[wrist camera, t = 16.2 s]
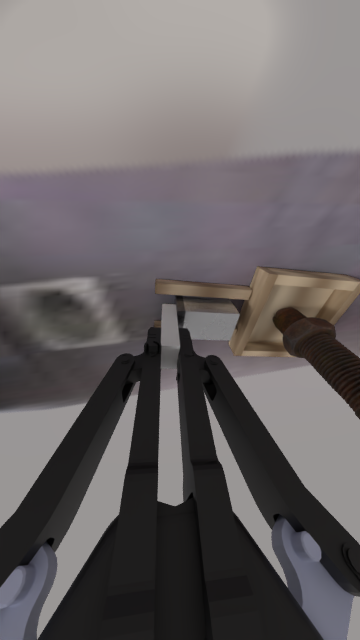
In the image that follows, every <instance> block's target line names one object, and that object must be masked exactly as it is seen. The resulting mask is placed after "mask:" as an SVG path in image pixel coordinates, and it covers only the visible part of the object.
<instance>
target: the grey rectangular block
mask: <svg viewBox="0 0 360 640" xmlns="http://www.w3.org/2000/svg"><path fill="white" fill-rule="evenodd" d="M174 304H176V311H177V320H178V328H187V329H188V330H189V331H190V336H191V339H196V340H227V341H230V340H231V337H232V334H233V332H234V329H235V326H236V324H237V321H238V318H239V316H240V314H239V312H238V311H237V309H236V308H235V306H234V305H233V304H232V302H231V301H230V299H228V298H213V297H198V296H183V295H175V303H174Z"/></svg>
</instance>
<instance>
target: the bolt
mask: <svg viewBox="0 0 360 640" xmlns="http://www.w3.org/2000/svg"><path fill="white" fill-rule="evenodd" d="M275 316H276V317H273V319H272V320H273V323H274V325H275V327H276V328H277V329H278V330H279V331H280V332H281V333H282V334H283V345H284V348H285V349H286V351H287V352H288V353H289V354H290V355H291V356H295V357H299V358H305V359H306V360H307V361H308V362H309V363H310V364H311V365H312V366H313V367H314V368H315V369H316V371H317V372H318V373H319V374H320V375H321V376H322V377H323V378H324V379H325V381H327V383H328V384H329V385H330V386H331V387H332V388H333V389H334V390H335V391H336V392H337V393H338V394H339V395H340V396H341V397H342V398H343V399H344V400H345V401H346V403H347V404H349V406H350V407H351V408H352V409H353V411H354V412H355V415H356V416H357V417H358V418H359V419H360V358H359V357H358V356H356V355H355V354H354V353H352V352H351V351H350V350H348V349H347V348H346V347H344V345H342V344H341V343H340V342H338V341H337V340H336V339H335V337H336V331H335V327H334V325H332V324H331V323H330V322H328V321H327V320H325V319H321V318H315V317H306V316H304V315H303V314H302V313H301V312H299V311H298V310H297V309H295V308H293V307H288V308H283V309H280V310H278V311H277V312H276V314H275Z"/></svg>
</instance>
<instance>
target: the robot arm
mask: <svg viewBox="0 0 360 640" xmlns="http://www.w3.org/2000/svg"><path fill="white" fill-rule="evenodd" d="M161 369H177V377H176V380H177V384H178V399H179V415H180V431H181V446H182V462H183V500H184V503H182V504H180V505H178V506H172V505H168V504H165V503H162V502H158V501H157V492H158V491H157V489H158V444H159V409H160V376H161ZM138 381H140V386H139V393H138V400H137V408H136V414H135V421H134V428H133V435H132V442H131V449H130V456H129V463H128V467H127V470H126V474H125V479H124V486H123V492H122V499H121V506H120V512H119V515H118V516H117V517H116V518H115V519H114V521H112V522H111V524H110V525H109V526H108V528H107V529H106V531H105V532H104V534H103V535H102V537H101V538H100V540H99V542H98V543H97V545H96V546H95V548H94V550H93V551H92V553H91V555H90V556H89V558H88V560H87V561H86V563H85V564H84V566H83V568H82V569H81V571H80V572H79V574H78V575H77V577H76V579H75V580H74V582H73V583H72V585H71V587H70V589H69V590H68V592H67V593H66V595H65V596H64V598H63V600H62V601H61V603H60V605H59V606H58V608H57V609H56V611H55V612H54V614H53V616H52V618H51V619H50V620H49V622H48V624H47V625H46V627H45V629H44V630H43V632H42V633H41V635H40V637H39V638H38V640H347V634H348V627H349V621H350V614H351V608H352V602H353V598H354V596H360V545H359V543H358V542H357V541H356V540H355V539H354V538H353V537H352V536H351V535H350V534H349V533H348V532H347V531H346V530H345V529H344V528H343V526H342V525H341V524H340V523H339V522H338V521H337V520H336V519H335V518H334V517H333V516H332V515H331V514H330V513H329V512H328V511H327V510H326V509H325V508H324V507H323V506H322V504H321V503H320V502H319V501H318V500H317V499H316V498H315V497H314V496H313V495H312V494H311V493H310V492H309V491H308V490H307V489H306V488H305V487H304V485H303V484H302V483H301V480H300V479H299V477H298V476H297V474H296V473H295V471H294V470H293V468H292V467H291V465H290V464H289V462H288V461H287V459H286V458H285V456H284V455H283V453H282V452H281V450H280V449H279V447H278V446H277V444H276V443H275V441H274V440H273V438H272V437H271V435H270V433H269V432H268V431H267V429H266V427H265V426H264V425H263V423H262V422H261V420H260V418H259V417H258V415H257V414H256V412H255V411H254V410H253V408H252V407H251V405H250V403H249V402H248V400H247V399H246V397H245V396H244V394H243V393H242V391H241V390H240V388H239V387H238V385H237V384H236V382H235V381H234V379H233V377H232V376H231V374H230V373H229V371H228V370H227V368H226V367H225V365H224V364H223V362H222V361H221V360H220V358H218V357H217V356H214V355H209V356H207V357H206V358H204V357H201V356H198V355H197V354H196V353H195V352H194V350H193V346H192V341H191V336H190V331H189V330H188V329H187V328H178V320H177V311H176V304H162V319H161V327H151V328H150V329H149V330H148V336H147V342H146V343H145V345H144V353H142V354H141V355H138V356H133V355H131V354H122V355H120V356H119V357H118V358H117V359H116V360H115V362H114V363H113V365H112V366H111V368H110V369H109V371H108V372H107V374H106V375H105V377H104V378H103V380H102V381H101V383H100V385H99V386H98V388H97V389H96V391H95V392H94V394H93V395H92V397H91V398H90V400H89V401H88V403H87V404H86V406H85V408H84V409H83V410H82V412H81V413H80V415H79V416H78V418H77V419H76V421H75V422H74V424H73V425H72V427H71V428H70V430H69V432H68V433H67V435H66V436H65V438H64V439H63V441H62V442H61V444H60V445H59V447H58V448H57V450H56V451H55V453H54V454H53V456H52V457H51V459H50V460H49V462H48V463H47V465H46V466H45V468H44V469H43V471H42V472H41V474H40V475H39V477H38V479H37V480H36V481H35V483H34V484H33V486H32V488H31V489H30V491H29V492H28V494H27V495H26V497H25V498H24V500H23V501H22V503H21V504H20V506H19V507H18V509H17V510H16V512H15V513H14V514H13V515H12V516H11V517H10V518H9V519H8V520H7V521H6V522H5V524H4V525H3V526H2V527H1V528H0V640H37V626H38V620H39V616H40V613H41V609H42V607H43V604H44V602H45V600H46V598H47V596H48V594H49V592H50V590H51V587H52V585H53V582H54V579H55V576H56V571H57V557H56V555H55V551H56V550H57V548H58V547H59V545H60V543H61V541H62V539H63V538H64V536H65V535H66V532H67V531H68V529H69V527H70V525H71V523H72V521H73V519H74V517H75V515H76V513H77V511H78V509H79V507H80V504H81V502H82V500H83V498H84V496H85V494H86V491H87V489H88V487H89V485H90V483H91V480H92V478H93V476H94V474H95V472H96V469H97V467H98V464H99V462H100V460H101V458H102V456H103V454H104V451H105V449H106V447H107V445H108V443H109V441H110V438H111V436H112V434H113V432H114V430H115V427H116V425H117V423H118V421H119V419H120V416H121V414H122V412H123V410H124V407H125V405H126V403H127V401H128V399H129V396H130V394H131V392H132V390H133V388H134V385H135V383H136V382H138ZM203 390H204V391H203ZM204 393H205V395H206V397H207V399H208V401H209V403H210V406H211V408H212V410H213V412H214V414H215V416H216V419H217V421H218V422H219V425H220V427H221V429H222V431H223V434H224V436H225V438H226V440H227V442H228V444H229V447H230V449H231V451H232V453H233V455H234V457H235V460H236V462H237V464H238V466H239V468H240V470H241V473H242V475H243V477H244V479H245V481H246V483H247V486H248V488H249V490H250V492H251V494H252V496H253V498H254V500H255V502H256V504H257V506H258V508H259V510H260V512H261V513H262V515H263V517H264V518H265V520H266V522H267V523H268V525H269V526H270V528H271V529H272V547H273V550H274V552H275V554H276V556H277V558H278V560H279V562H280V564H281V566H282V568H283V571H284V574H285V577H286V580H287V585H288V588H287V586H286V585H285V584H284V582H283V581H282V579H281V578H280V576H279V575H278V574H277V572H276V571H275V569H274V568H273V567H272V565H271V564H270V562H269V561H268V559H267V558H266V556H265V555H264V554H263V552H262V551H261V549H260V548H259V547H258V545H257V544H256V542H255V541H254V539H253V538H252V537H251V535H250V534H249V532H248V531H247V529H246V528H245V527H244V525H243V524H242V522H241V521H240V520H239V518H238V517H237V516H236V515H235V513H234V512H233V511H232V506H231V502H230V497H229V492H228V488H227V483H226V479H225V474H224V471H223V468H222V465H221V464H220V462H219V461H218V458H217V455H216V450H215V445H214V440H213V435H212V430H211V426H210V420H209V416H208V411H207V406H206V401H205V396H204Z"/></svg>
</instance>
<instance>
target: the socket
mask: <svg viewBox="0 0 360 640" xmlns="http://www.w3.org/2000/svg"><path fill="white" fill-rule="evenodd" d="M155 294H168V295H183V296H198V297H213V298H228V299H243V300H244V303H243V306H242V308H241V311H240V316H239V318H238V321H237V324H236V326H235V329H234V332H233V334H232V337H231V340H230V341H229V343H228V344H229V346H230V348H231V350H232V352H233V354H234V356H269V357H295V356H291V355H290V354H289V353H288V352H287V351H286V349H285V348H284V345H283V334H282V333H281V332H280V331H279V330H278V329H277V328H276V327H275V325H274V323H273V320H272V319H273V317H276V316H275V314H276V312H277V311H278V310H280V309H283V308H288V307H293V308H295V309H297V310H298V311H299V312H301V313H302V314H303V315H304V316H306V317H315V318H321V319H325V320H327V321H328V322H330V323H331V324H332V325H335V324H336V322H337V321H338V320H339V319H340V317H341V316H342V315H343V314H344V312H345V311H346V310H347V309H348V307H349V306H350V305H351V304H352V302H353V301H354V300H355V299H356V297H357V296H358V295H359V294H360V280H359V279H356V278H353V277H351V276H348V275H342V274H331V273H321V272H310V271H300V270H289V269H279V268H269V267H258V266H257V268H256V271H255V274H254V276H253V279H252V282H251V284H250V287H248V286H239V285H227V284H214V283H201V282H188V281H176V280H163V279H156V282H155ZM154 327H161V321H155V323H154Z"/></svg>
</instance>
